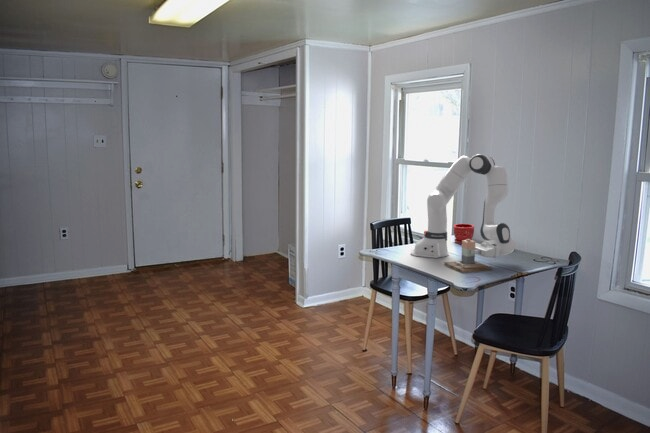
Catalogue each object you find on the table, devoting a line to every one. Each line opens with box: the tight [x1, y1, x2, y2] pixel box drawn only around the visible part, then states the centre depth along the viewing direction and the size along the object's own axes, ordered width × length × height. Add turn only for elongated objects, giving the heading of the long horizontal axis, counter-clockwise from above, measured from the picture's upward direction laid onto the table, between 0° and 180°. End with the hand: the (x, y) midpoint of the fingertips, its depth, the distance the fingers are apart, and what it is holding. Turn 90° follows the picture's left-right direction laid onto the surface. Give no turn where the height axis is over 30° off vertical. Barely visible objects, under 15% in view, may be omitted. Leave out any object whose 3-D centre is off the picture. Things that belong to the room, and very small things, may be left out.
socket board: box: [443, 260, 492, 274], centre depth 285 cm, size 18×18×3 cm
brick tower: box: [460, 239, 476, 264], centre depth 283 cm, size 5×5×13 cm
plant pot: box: [453, 223, 475, 245], centre depth 345 cm, size 13×13×12 cm
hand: (466, 250), depth 283 cm, fingers closed on brick tower, 5 cm apart
